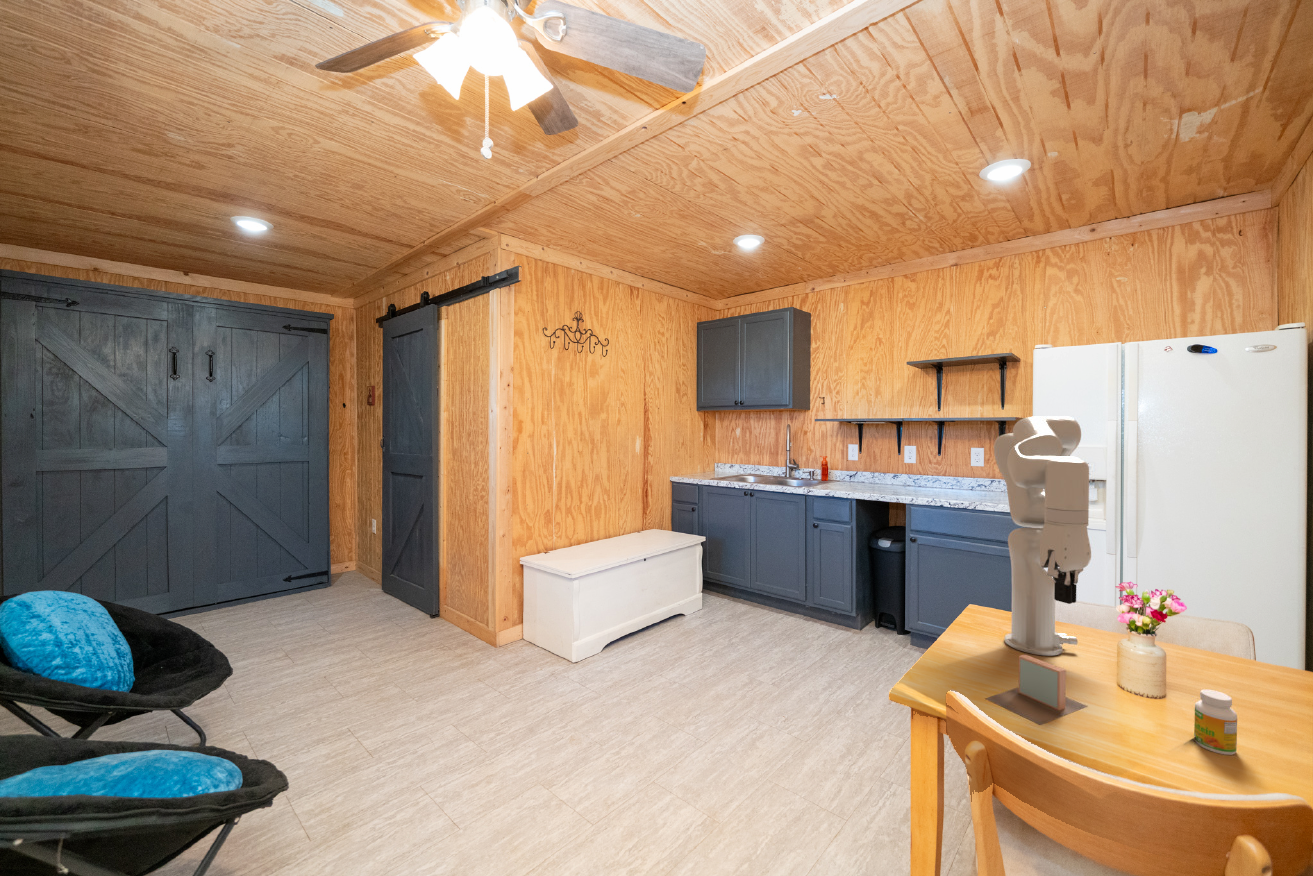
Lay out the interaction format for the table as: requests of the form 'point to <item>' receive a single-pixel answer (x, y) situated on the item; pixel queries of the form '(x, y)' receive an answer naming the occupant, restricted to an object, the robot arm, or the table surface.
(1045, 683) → the tile
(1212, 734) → the supplement bottle
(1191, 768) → the table surface
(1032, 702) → the board
